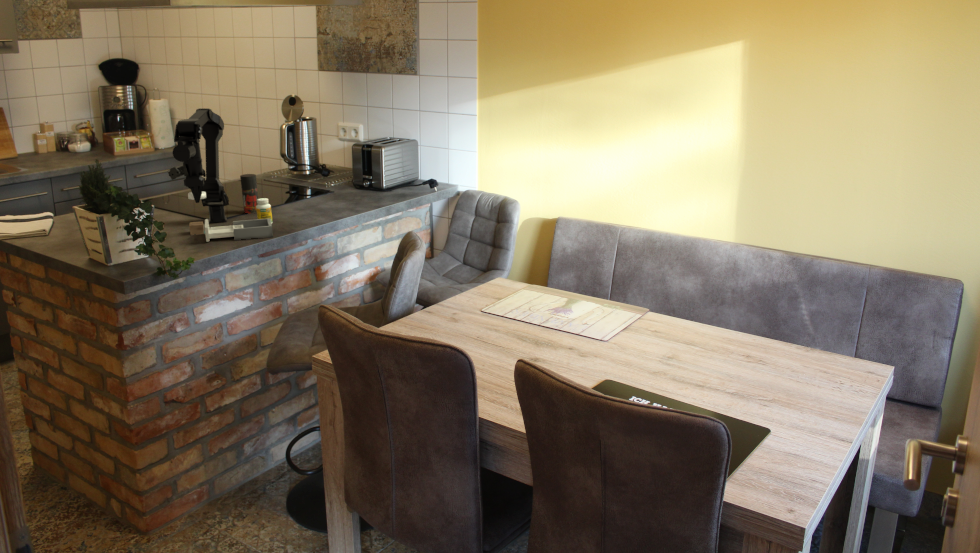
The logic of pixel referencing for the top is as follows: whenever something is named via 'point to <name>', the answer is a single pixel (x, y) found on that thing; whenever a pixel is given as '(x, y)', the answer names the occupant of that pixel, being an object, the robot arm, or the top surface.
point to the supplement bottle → (264, 209)
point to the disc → (190, 196)
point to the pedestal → (196, 228)
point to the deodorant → (249, 193)
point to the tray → (219, 231)
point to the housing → (253, 229)
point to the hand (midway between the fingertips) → (198, 200)
